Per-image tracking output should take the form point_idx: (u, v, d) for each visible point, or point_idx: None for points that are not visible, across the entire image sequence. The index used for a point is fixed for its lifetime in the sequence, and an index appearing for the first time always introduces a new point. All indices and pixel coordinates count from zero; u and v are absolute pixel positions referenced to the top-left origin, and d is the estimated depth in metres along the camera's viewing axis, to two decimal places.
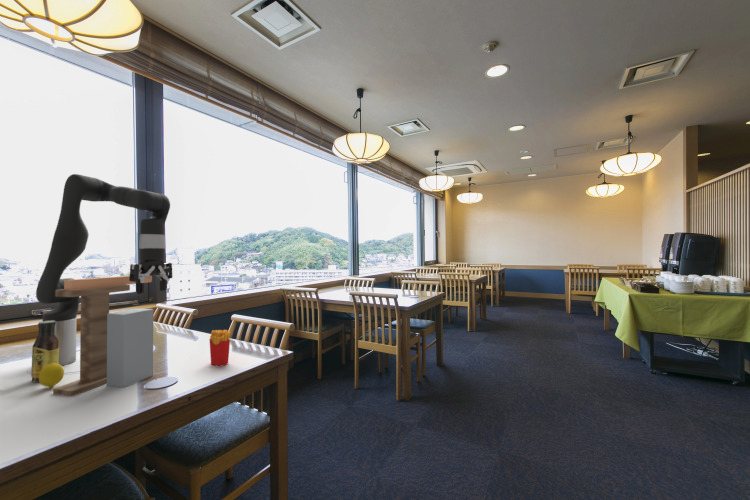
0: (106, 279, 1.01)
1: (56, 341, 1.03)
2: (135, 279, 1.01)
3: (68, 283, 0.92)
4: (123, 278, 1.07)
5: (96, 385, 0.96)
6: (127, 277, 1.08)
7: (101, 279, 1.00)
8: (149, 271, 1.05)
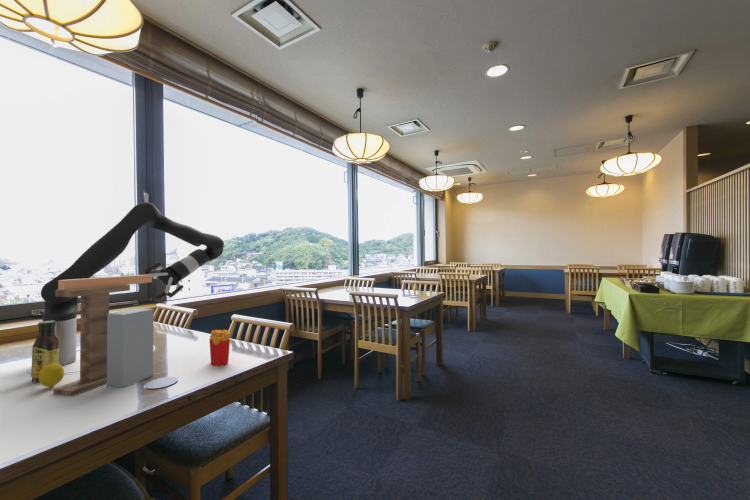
0: (102, 279, 1.01)
1: (56, 341, 1.03)
2: (146, 270, 1.18)
3: (61, 283, 0.92)
4: (120, 278, 1.06)
5: (96, 385, 0.96)
6: (124, 277, 1.07)
7: (96, 279, 0.99)
8: (161, 274, 1.20)
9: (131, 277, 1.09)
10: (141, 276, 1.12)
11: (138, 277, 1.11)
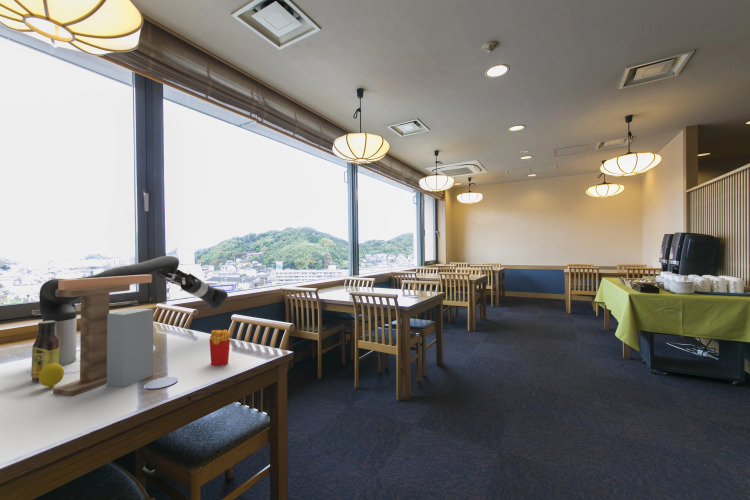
0: (102, 279, 1.01)
1: (56, 341, 1.03)
2: None
3: (61, 283, 0.92)
4: (120, 278, 1.06)
5: (96, 385, 0.96)
6: (124, 277, 1.07)
7: (96, 279, 0.99)
8: None
9: (131, 277, 1.09)
10: (141, 276, 1.12)
11: (138, 277, 1.11)
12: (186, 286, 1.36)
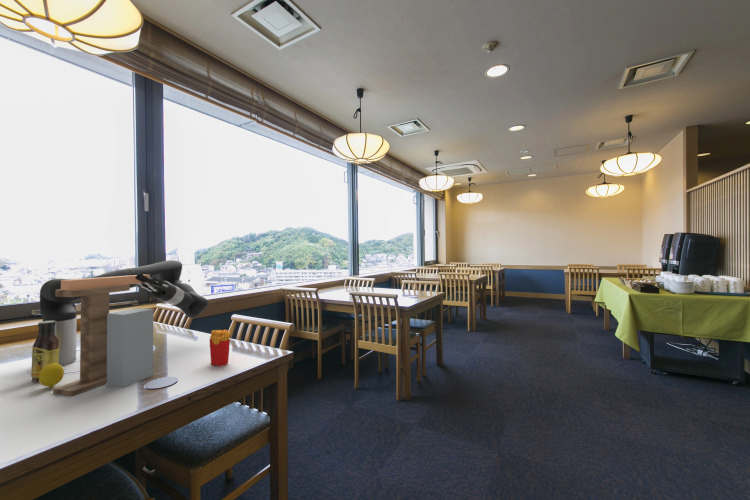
0: (103, 279, 1.01)
1: (56, 341, 1.03)
2: None
3: (65, 283, 0.91)
4: (120, 278, 1.06)
5: (96, 385, 0.96)
6: (124, 277, 1.07)
7: (98, 279, 0.99)
8: None
9: (130, 277, 1.09)
10: None
11: None
12: (158, 293, 1.21)
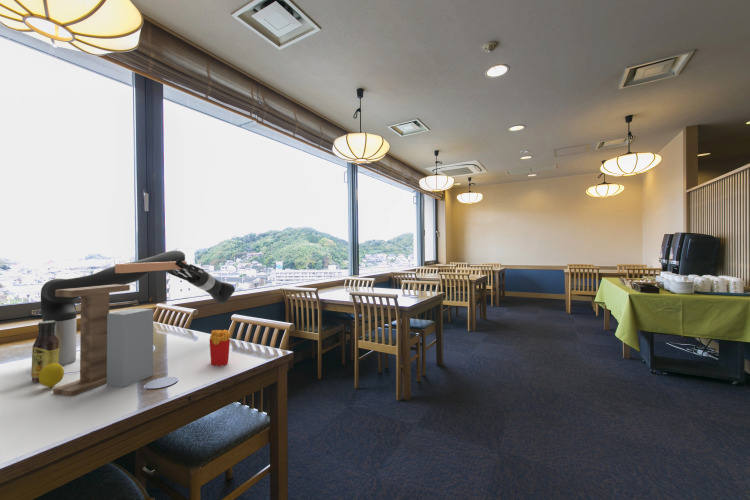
0: (150, 264, 1.10)
1: (56, 341, 1.03)
2: None
3: (119, 267, 1.00)
4: (163, 264, 1.15)
5: (96, 385, 0.96)
6: (166, 262, 1.16)
7: (146, 264, 1.08)
8: None
9: (171, 263, 1.18)
10: None
11: None
12: (193, 279, 1.30)
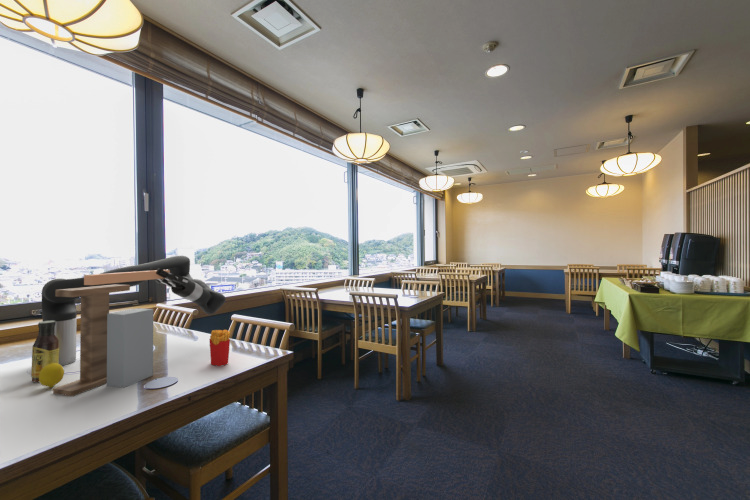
0: (125, 274, 0.98)
1: (56, 341, 1.03)
2: None
3: (88, 278, 0.89)
4: (142, 273, 1.04)
5: (96, 385, 0.96)
6: (145, 272, 1.05)
7: (120, 274, 0.97)
8: None
9: (151, 272, 1.07)
10: None
11: None
12: (177, 289, 1.19)
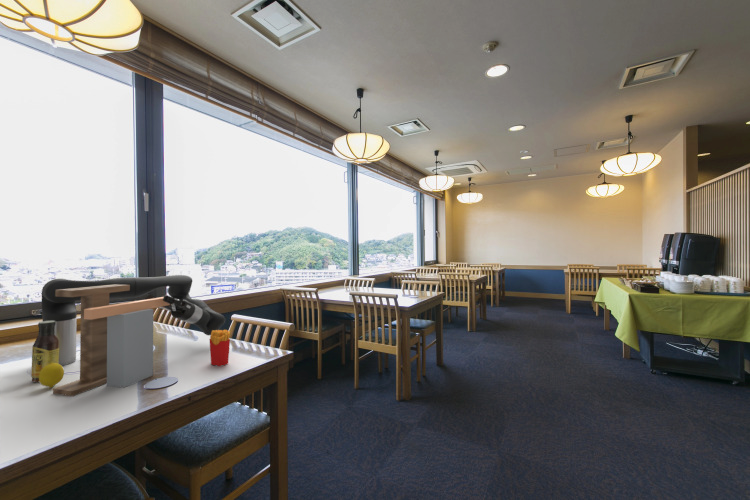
0: (125, 305, 0.98)
1: (56, 341, 1.03)
2: None
3: (88, 312, 0.89)
4: (142, 303, 1.04)
5: (96, 385, 0.96)
6: (145, 301, 1.05)
7: (120, 306, 0.97)
8: None
9: (151, 301, 1.07)
10: (160, 299, 1.11)
11: (157, 300, 1.10)
12: (177, 312, 1.19)
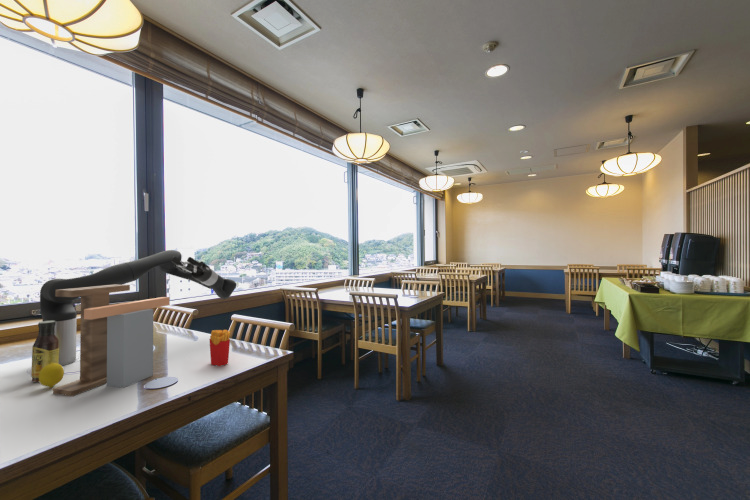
0: (125, 305, 0.98)
1: (56, 341, 1.03)
2: None
3: (88, 312, 0.89)
4: (142, 303, 1.04)
5: (96, 385, 0.96)
6: (145, 301, 1.05)
7: (120, 306, 0.97)
8: None
9: (151, 301, 1.07)
10: (160, 299, 1.11)
11: (157, 300, 1.10)
12: (197, 274, 1.38)
